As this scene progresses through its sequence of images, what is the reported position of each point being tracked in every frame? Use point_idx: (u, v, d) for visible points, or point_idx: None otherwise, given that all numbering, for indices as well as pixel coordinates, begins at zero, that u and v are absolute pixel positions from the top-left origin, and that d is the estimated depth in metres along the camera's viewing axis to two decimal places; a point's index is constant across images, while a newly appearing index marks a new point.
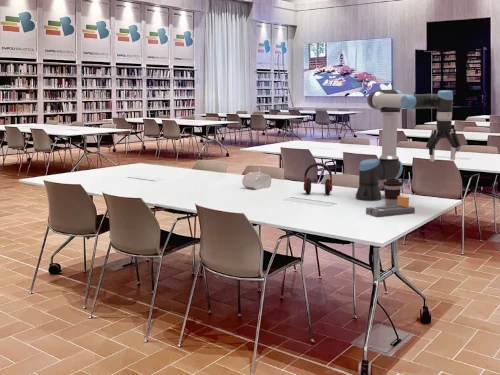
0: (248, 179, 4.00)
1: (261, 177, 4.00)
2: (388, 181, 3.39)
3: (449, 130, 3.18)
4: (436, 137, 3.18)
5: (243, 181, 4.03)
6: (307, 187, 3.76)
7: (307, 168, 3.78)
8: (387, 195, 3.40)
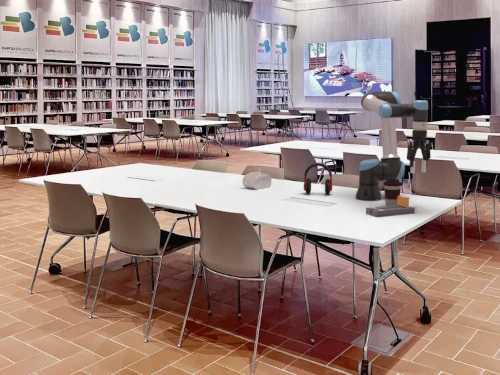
0: (248, 179, 4.00)
1: (261, 177, 4.00)
2: (388, 181, 3.39)
3: (425, 139, 3.23)
4: (413, 148, 3.23)
5: (243, 181, 4.02)
6: (307, 187, 3.76)
7: (307, 168, 3.78)
8: (387, 195, 3.40)
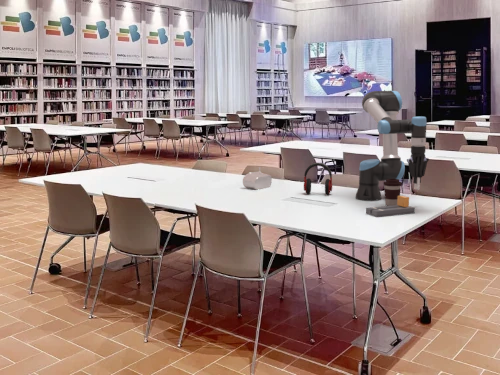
0: (248, 179, 4.00)
1: (261, 177, 4.00)
2: (388, 181, 3.39)
3: (424, 155, 3.24)
4: (414, 164, 3.25)
5: (243, 181, 4.02)
6: (307, 187, 3.76)
7: (307, 168, 3.78)
8: (387, 195, 3.40)
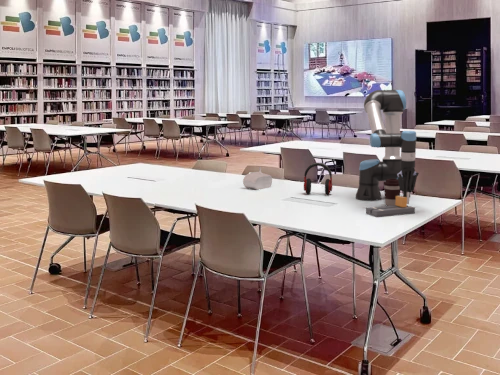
0: (249, 179, 3.99)
1: (262, 177, 4.00)
2: (388, 181, 3.39)
3: (413, 170, 3.23)
4: (403, 179, 3.24)
5: (244, 181, 4.02)
6: (307, 187, 3.76)
7: (307, 168, 3.78)
8: (387, 195, 3.40)
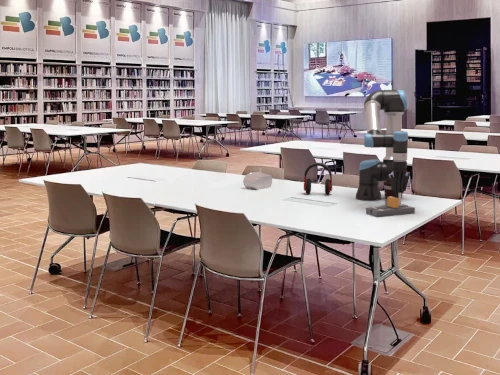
0: (249, 179, 3.99)
1: (262, 177, 3.99)
2: (388, 181, 3.39)
3: (405, 170, 3.22)
4: (395, 179, 3.22)
5: (244, 181, 4.02)
6: (307, 187, 3.76)
7: (307, 168, 3.78)
8: (387, 195, 3.40)
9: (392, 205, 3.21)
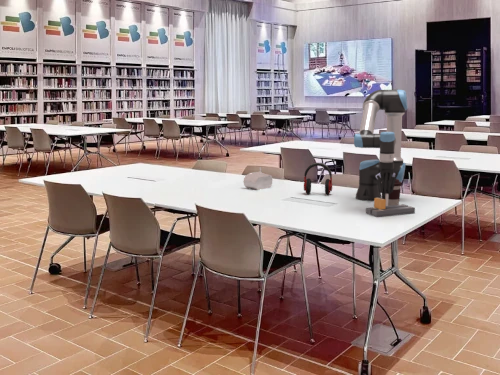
0: (249, 179, 3.99)
1: (262, 177, 3.99)
2: None
3: (392, 171, 3.18)
4: (382, 180, 3.19)
5: (244, 181, 4.02)
6: (307, 187, 3.76)
7: (307, 168, 3.78)
8: None
9: (379, 206, 3.18)
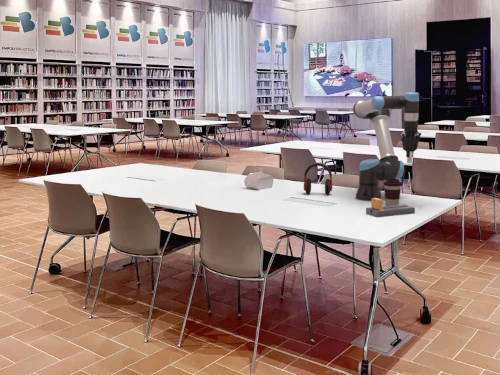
0: (250, 179, 3.99)
1: (263, 177, 3.99)
2: (388, 181, 3.39)
3: (416, 130, 3.36)
4: (407, 139, 3.36)
5: (245, 181, 4.01)
6: (307, 187, 3.76)
7: (307, 168, 3.78)
8: (387, 195, 3.40)
9: (376, 207, 3.17)
